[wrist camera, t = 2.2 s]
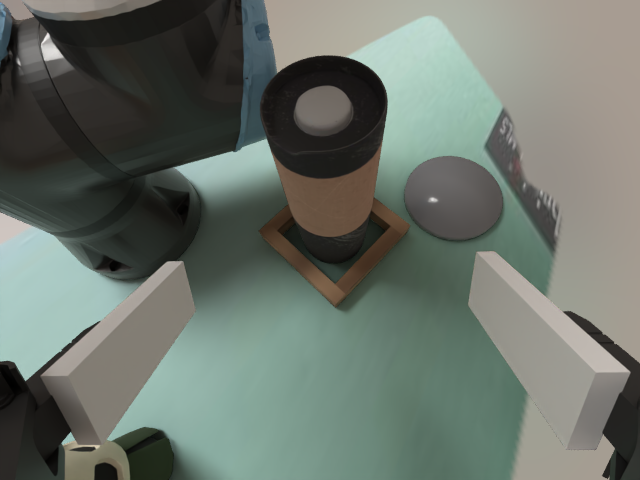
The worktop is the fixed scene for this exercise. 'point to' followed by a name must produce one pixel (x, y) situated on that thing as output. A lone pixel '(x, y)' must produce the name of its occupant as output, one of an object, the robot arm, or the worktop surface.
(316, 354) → the worktop surface
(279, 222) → the walnut frame
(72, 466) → the character mug
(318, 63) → the travel mug
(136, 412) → the worktop surface
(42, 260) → the worktop surface
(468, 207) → the slate coaster
